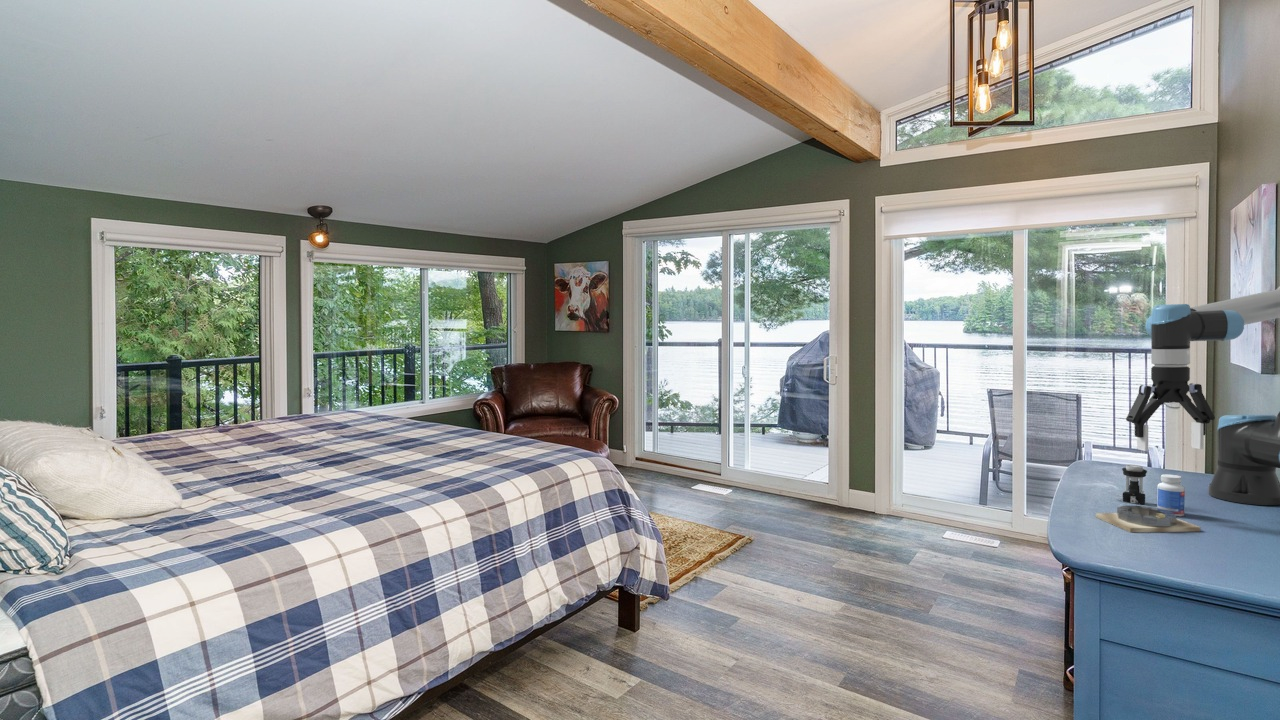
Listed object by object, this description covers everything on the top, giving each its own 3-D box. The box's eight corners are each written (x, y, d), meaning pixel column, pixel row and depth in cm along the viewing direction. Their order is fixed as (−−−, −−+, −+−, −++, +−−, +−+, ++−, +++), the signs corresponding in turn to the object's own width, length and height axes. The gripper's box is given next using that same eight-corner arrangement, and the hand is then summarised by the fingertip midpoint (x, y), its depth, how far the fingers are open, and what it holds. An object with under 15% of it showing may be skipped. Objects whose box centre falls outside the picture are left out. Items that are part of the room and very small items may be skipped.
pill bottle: (1186, 518, 160) (1186, 479, 160) (1158, 515, 163) (1159, 477, 163) (1182, 512, 165) (1182, 474, 164) (1155, 509, 168) (1156, 472, 167)
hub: (1151, 513, 162) (1152, 502, 162) (1187, 526, 151) (1188, 514, 151) (1107, 513, 162) (1107, 502, 162) (1139, 527, 151) (1139, 515, 151)
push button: (1114, 502, 176) (1114, 465, 175) (1117, 498, 179) (1118, 462, 179) (1144, 506, 171) (1145, 469, 170) (1147, 502, 175) (1148, 465, 174)
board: (1160, 516, 162) (1160, 512, 162) (1200, 531, 150) (1200, 527, 150) (1095, 517, 163) (1095, 513, 163) (1130, 532, 151) (1130, 528, 151)
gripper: (1207, 363, 166) (1207, 444, 167) (1109, 366, 166) (1109, 448, 167) (1234, 364, 158) (1233, 450, 159) (1131, 368, 159) (1131, 453, 160)
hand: (1169, 449), depth 163 cm, fingers open, 13 cm apart
